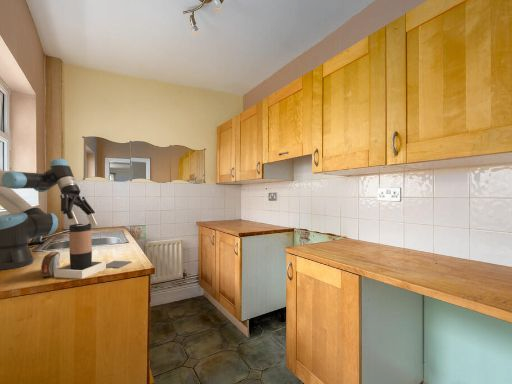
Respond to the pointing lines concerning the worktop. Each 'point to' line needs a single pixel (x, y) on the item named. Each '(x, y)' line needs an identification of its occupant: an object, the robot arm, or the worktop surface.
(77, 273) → the tray rim
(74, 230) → the travel mug
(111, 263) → the mat
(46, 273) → the brown arched piece
